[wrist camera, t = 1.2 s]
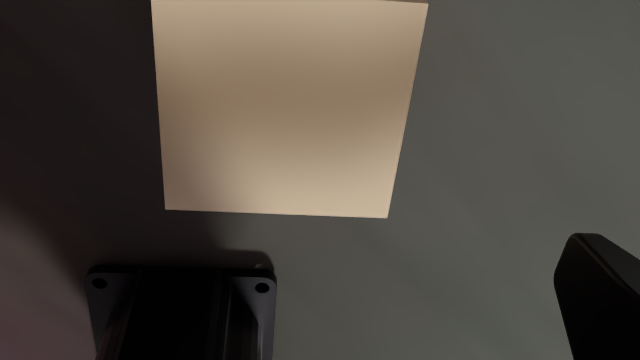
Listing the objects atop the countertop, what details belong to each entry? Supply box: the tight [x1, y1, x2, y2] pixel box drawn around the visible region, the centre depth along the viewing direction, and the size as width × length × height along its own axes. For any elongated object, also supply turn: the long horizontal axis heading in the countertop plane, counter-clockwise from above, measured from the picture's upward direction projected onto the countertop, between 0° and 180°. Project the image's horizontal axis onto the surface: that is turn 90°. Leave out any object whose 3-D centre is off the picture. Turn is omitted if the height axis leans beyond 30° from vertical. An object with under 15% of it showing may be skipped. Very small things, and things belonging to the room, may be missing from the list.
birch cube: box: [151, 0, 429, 218], centre depth 14 cm, size 5×5×5 cm
